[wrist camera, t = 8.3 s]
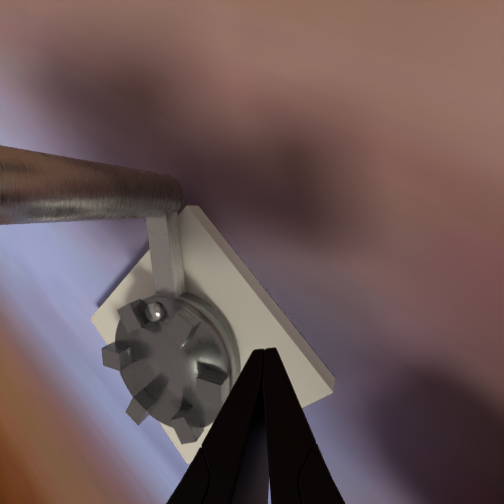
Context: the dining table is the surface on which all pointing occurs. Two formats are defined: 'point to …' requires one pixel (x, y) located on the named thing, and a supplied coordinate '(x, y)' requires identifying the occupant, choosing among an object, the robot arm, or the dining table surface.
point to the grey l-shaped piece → (140, 311)
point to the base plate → (224, 310)
